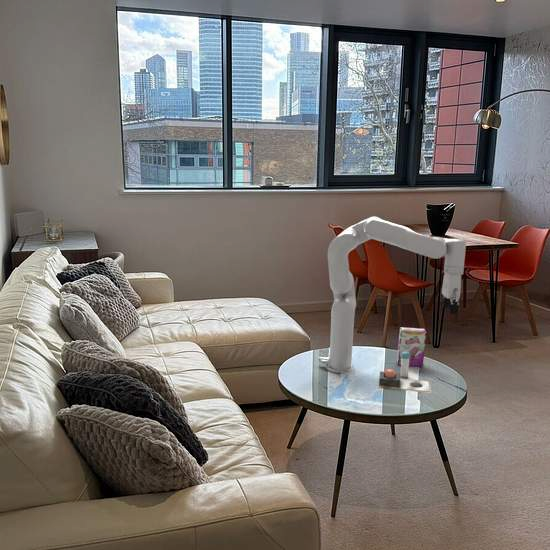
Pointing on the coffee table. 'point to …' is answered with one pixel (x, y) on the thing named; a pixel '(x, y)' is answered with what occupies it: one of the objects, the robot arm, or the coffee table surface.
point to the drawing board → (403, 383)
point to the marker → (404, 364)
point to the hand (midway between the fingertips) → (449, 310)
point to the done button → (390, 373)
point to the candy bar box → (412, 345)
